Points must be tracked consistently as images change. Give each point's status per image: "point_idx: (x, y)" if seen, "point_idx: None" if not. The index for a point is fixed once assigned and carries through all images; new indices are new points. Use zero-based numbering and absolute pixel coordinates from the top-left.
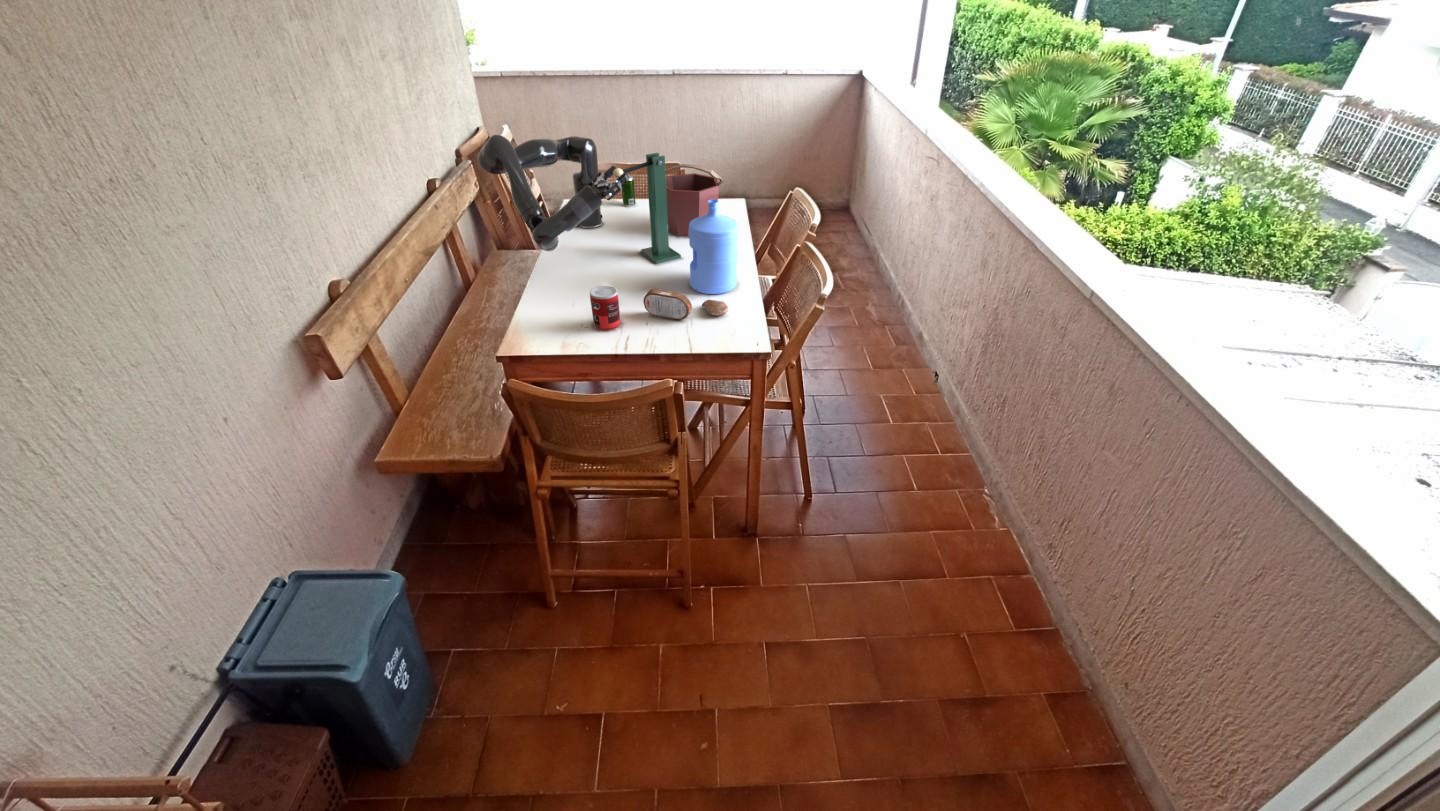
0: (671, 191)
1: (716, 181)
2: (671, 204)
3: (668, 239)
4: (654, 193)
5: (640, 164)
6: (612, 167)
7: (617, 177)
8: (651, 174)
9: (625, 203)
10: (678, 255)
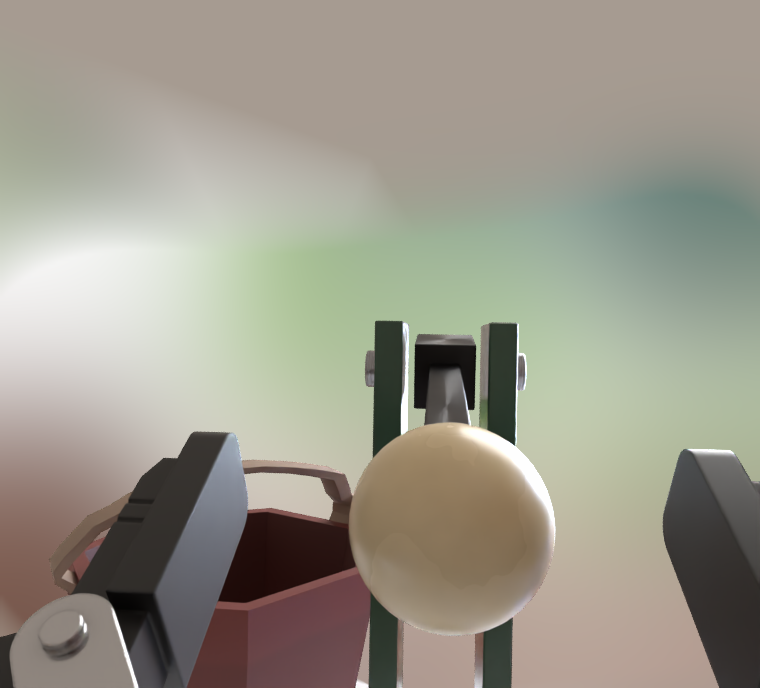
0: (240, 616)
1: (308, 517)
2: None
3: None
4: (499, 657)
5: (445, 389)
6: (223, 457)
7: (528, 597)
8: None
9: None
10: None
